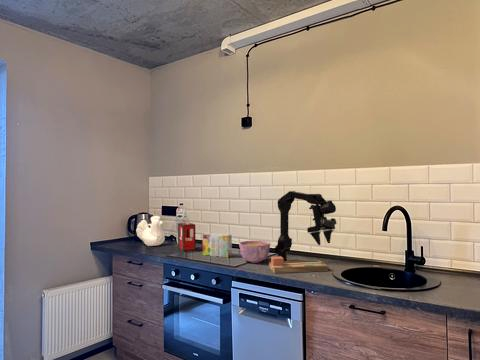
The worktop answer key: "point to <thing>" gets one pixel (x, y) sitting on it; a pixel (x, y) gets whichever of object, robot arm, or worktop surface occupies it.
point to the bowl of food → (254, 250)
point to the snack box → (217, 245)
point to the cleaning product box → (186, 237)
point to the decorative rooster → (151, 231)
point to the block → (277, 261)
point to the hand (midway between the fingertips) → (324, 244)
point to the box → (299, 266)
